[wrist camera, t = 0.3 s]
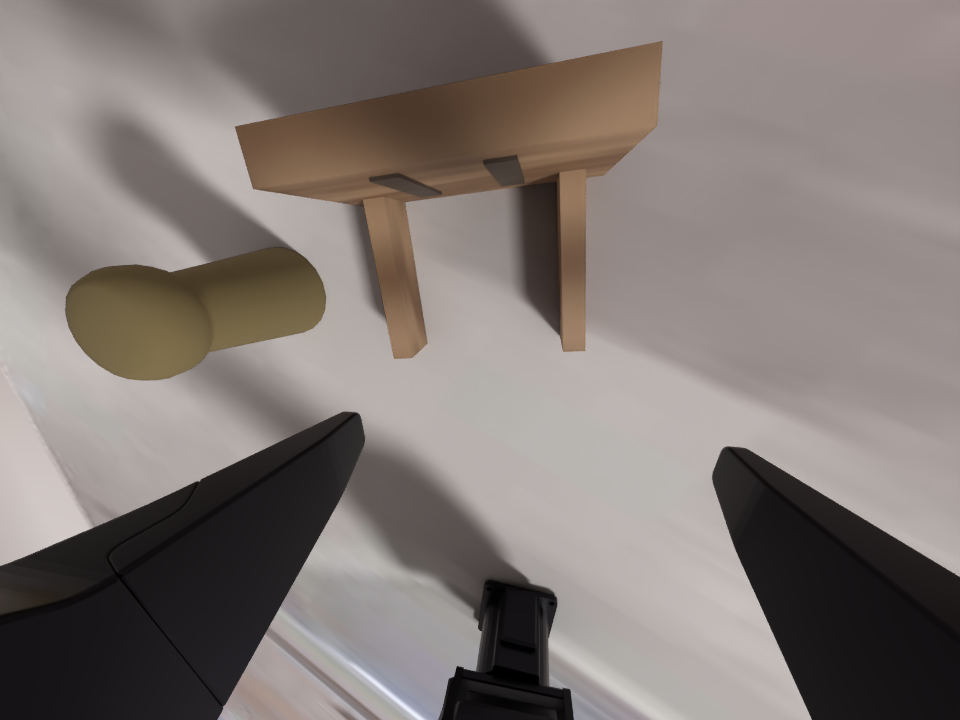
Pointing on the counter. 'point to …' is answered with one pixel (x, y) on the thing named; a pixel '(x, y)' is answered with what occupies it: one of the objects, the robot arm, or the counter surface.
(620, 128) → the post bracket
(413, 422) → the counter surface
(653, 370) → the counter surface
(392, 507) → the counter surface
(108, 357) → the cork
